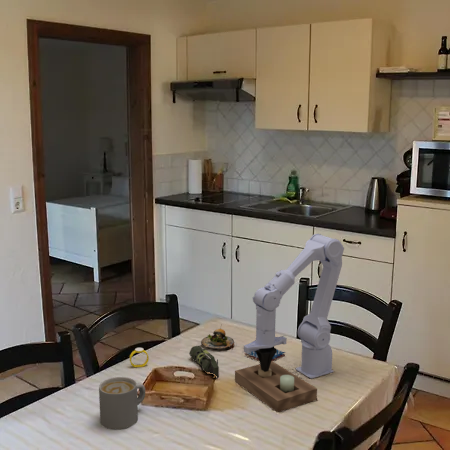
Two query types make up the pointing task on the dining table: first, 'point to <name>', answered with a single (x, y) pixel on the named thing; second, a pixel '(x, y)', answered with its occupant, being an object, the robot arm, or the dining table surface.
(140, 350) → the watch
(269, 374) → the maple peg
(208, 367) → the dark green rolled bundle
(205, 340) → the burger
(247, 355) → the woven mat
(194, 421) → the dining table surface
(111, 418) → the coffee mug
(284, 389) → the sage peg
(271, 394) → the walnut block
